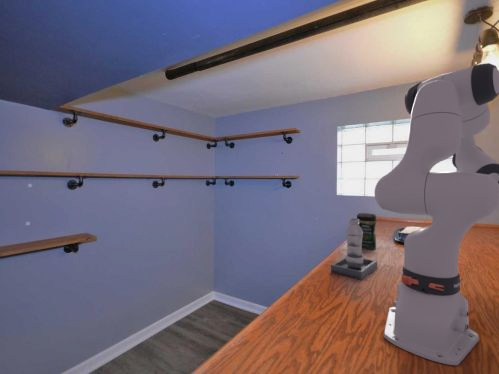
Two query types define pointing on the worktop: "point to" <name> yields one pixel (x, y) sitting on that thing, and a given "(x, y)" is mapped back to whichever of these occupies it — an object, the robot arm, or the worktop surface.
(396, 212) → the robot arm
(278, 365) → the worktop surface
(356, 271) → the serving tray
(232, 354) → the worktop surface
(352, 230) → the plastic bottle
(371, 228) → the coffee jar
